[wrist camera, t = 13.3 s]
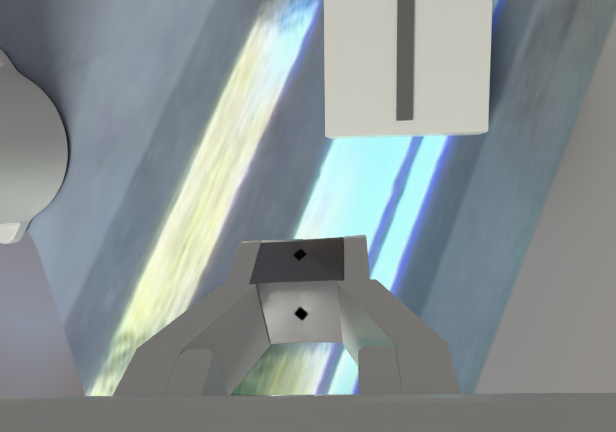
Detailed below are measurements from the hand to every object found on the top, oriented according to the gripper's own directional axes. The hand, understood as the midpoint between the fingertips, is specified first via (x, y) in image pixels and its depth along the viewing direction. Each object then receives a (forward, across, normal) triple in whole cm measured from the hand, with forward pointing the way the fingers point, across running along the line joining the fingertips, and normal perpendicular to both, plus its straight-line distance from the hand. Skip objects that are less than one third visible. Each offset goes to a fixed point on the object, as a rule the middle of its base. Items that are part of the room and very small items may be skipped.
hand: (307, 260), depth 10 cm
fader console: (+31, -6, -4) cm, 32 cm away
